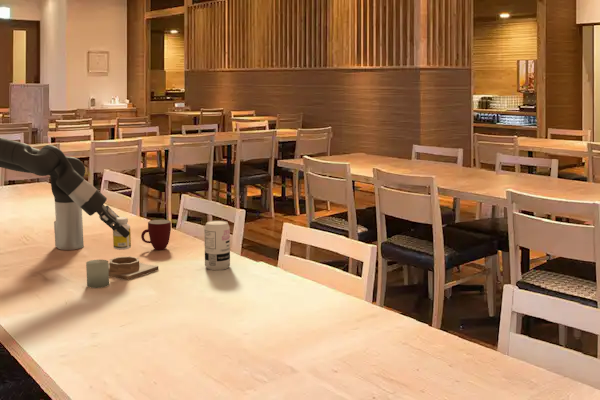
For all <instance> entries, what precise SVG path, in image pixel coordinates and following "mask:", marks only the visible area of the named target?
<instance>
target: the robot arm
mask: <svg viewBox="0 0 600 400" xmlns="http://www.w3.org/2000/svg"><path fill="white" fill-rule="evenodd" d="M0 168H2V169H5V170H10V171H14V172H15V171H16V172H19V173H20V172H22V173H26V174H27V173H28V174H33V175H35V176H39V177H46V176H50V177H49V178H50V186H51V193H52V195H53V197H54V209H55V212H54V214H55V220H54V222H53V229H54V247H55V248H57V249H58V250H62V251H63V250H64V251H70V250H77V249H81V248H83V247H85V246H84V245H85V244H84V242H85V241H84V225H83V224H84V223H83V211H84V212H85V213H86V214H87V215H89V216H93V215H95V214H96V213H97V215H99V216H98V218H99V220H100V221H102V222H103V223H105V225H107V226H108V227H109V228H110V229H112V231H113V230H114V231H115V230H117V231H118V232H119V233H120V234H121V235H122V236H123V237H124V238H126V237H127V236H128V235H129V234H130V233H131V231H130V232H129V231H128V230H127V229H125V228H124V227H123V226H122V225H121V223H119V222H118V221H117V217H120V215H118V214H117V213H116V212H115V211H114V210H113V209H112V208H111V207H110V206H109V205H105V203H106V202H107V199H108V198H107V197H106V196H105V195H104V194H103V193H102V192H100V190H99V189H97V188H96V187H95V186H94V185H92V183H90V181H87V180H86V179H85V178H84V177H85V174H86V167H85V164H84V163H83V161H81V160H80V159H79V158H77V157H76V156H68V155H65V153H64V152H63V151H62V150H61V149H60V148H58V147H57V146H55V145H53V144H47V145H44V146H43V147H41V149H39V148H35V147H33V146H31V145H29V144H27V143H25V142H20V141H16V140H13V139H8V138H6V137H5V138H4V137H1V136H0Z"/></svg>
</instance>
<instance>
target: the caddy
mask: <svg viewBox="0 0 600 400" xmlns="http://www.w3.org/2000/svg"><path fill="white" fill-rule="evenodd" d="M108 265H109V278H115V279H119V280H124V281H129V280H132V279H136V278H139V277H142V276H144V275H147V274H150V273H153V272H156V271H159V265H154V264H148V263H144V262H140V258H139V257H135V256H131V255H130V256H117V257H114V258H110V259H109V261H108Z"/></svg>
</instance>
